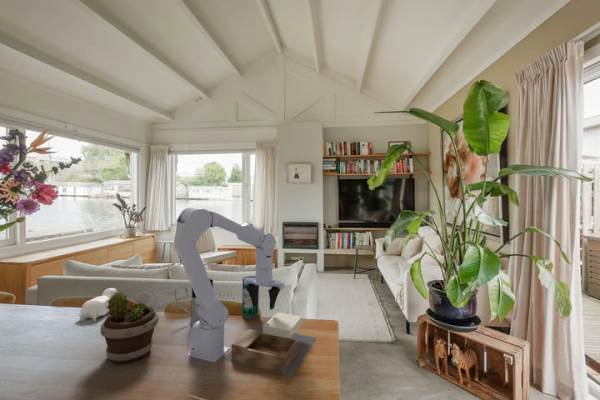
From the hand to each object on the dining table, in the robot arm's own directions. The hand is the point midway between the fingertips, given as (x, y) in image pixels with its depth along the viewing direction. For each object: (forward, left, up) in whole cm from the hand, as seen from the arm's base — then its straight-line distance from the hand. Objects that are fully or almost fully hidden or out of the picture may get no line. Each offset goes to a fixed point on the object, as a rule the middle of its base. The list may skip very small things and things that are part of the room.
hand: (263, 307), depth 95 cm
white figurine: (-68, -8, -10) cm, 69 cm away
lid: (+8, -3, -5) cm, 10 cm away
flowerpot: (-31, -25, -10) cm, 41 cm away
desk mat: (+7, -7, -9) cm, 14 cm away
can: (-12, +12, -10) cm, 19 cm away
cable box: (+7, -12, -9) cm, 17 cm away
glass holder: (-29, 0, -10) cm, 30 cm away
